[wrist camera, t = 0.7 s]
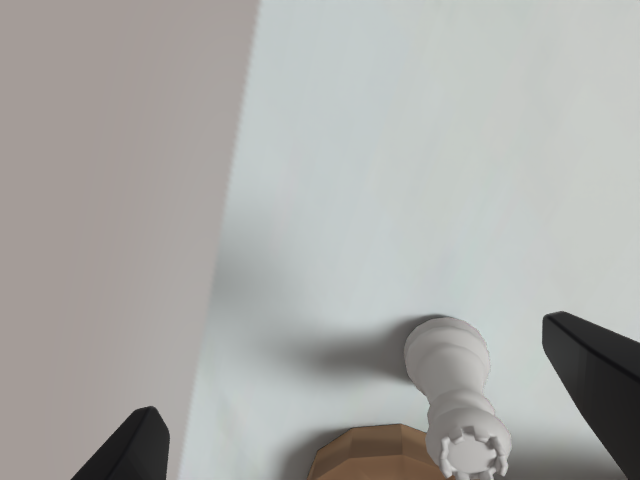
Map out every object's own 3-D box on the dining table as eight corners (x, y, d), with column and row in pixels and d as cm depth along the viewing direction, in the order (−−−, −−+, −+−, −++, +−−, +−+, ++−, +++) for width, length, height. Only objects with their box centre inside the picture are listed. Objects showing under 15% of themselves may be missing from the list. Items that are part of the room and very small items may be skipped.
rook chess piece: (418, 393, 24) (434, 519, 16) (391, 326, 23) (394, 427, 15) (496, 373, 23) (552, 498, 15) (471, 302, 22) (516, 397, 14)
